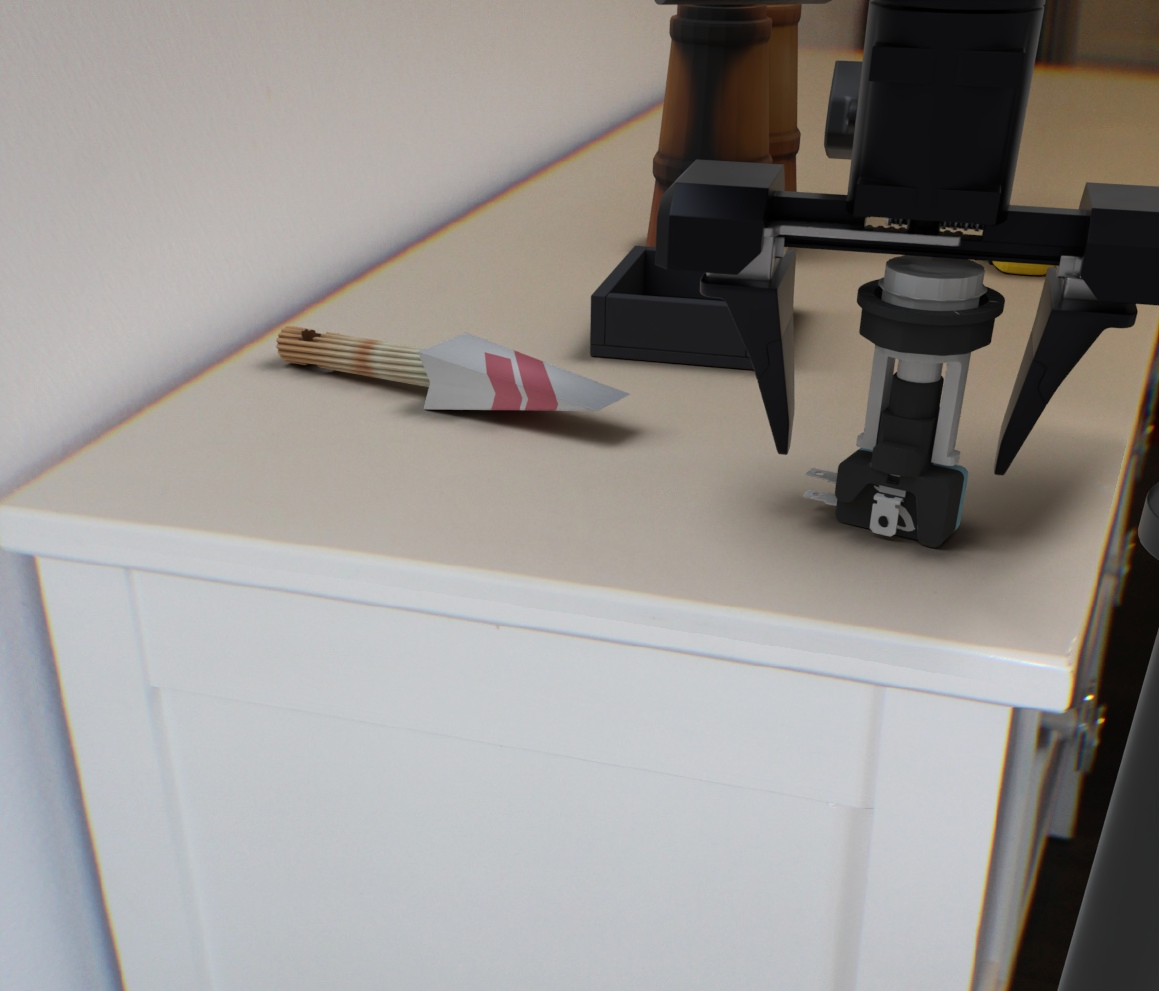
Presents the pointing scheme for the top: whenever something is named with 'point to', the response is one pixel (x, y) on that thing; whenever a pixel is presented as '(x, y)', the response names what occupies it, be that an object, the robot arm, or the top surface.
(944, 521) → the push button
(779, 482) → the top surface
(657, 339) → the black hollow square tray
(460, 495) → the top surface
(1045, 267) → the yellow walkie talkie
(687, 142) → the binoculars
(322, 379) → the top surface
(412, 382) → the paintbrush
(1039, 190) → the top surface
